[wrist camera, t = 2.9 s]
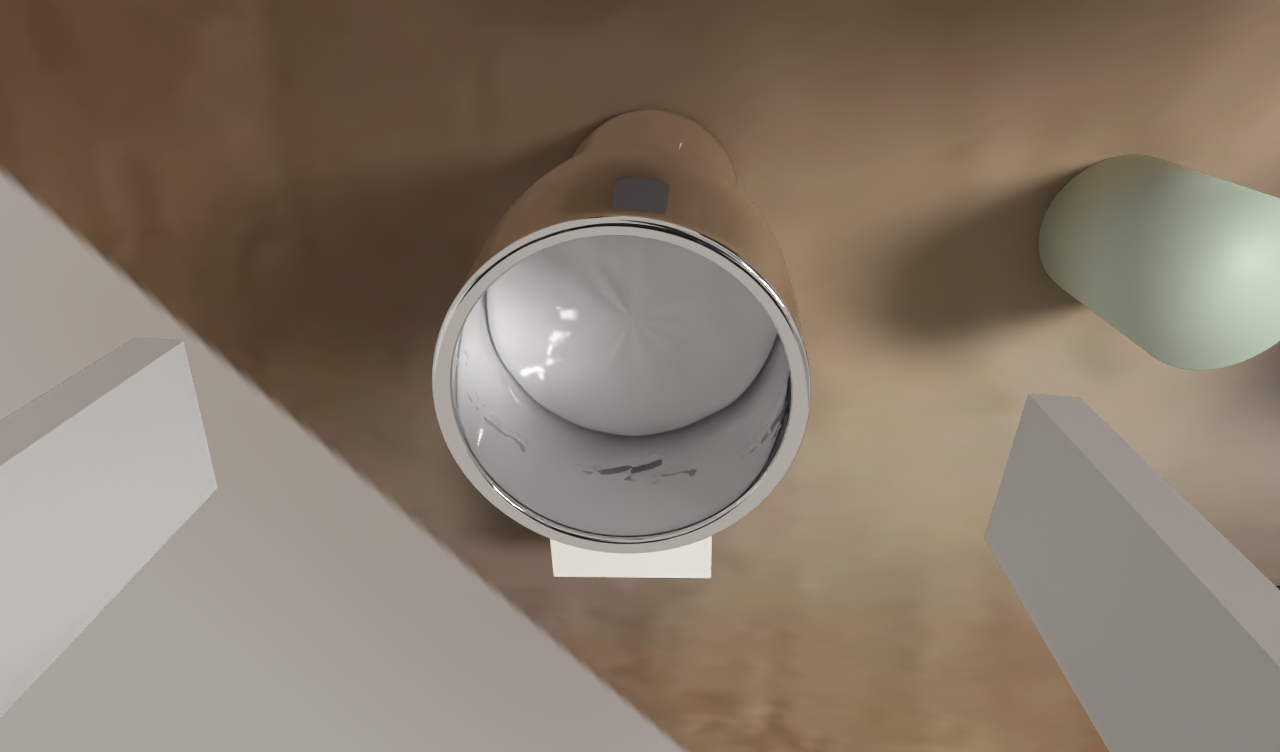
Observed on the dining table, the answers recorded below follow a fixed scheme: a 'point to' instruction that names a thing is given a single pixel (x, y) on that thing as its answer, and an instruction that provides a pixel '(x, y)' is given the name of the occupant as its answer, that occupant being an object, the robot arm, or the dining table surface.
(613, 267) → the beer glass
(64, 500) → the robot arm
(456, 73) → the dining table surface
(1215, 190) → the sage cylinder
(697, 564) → the off-white brick
